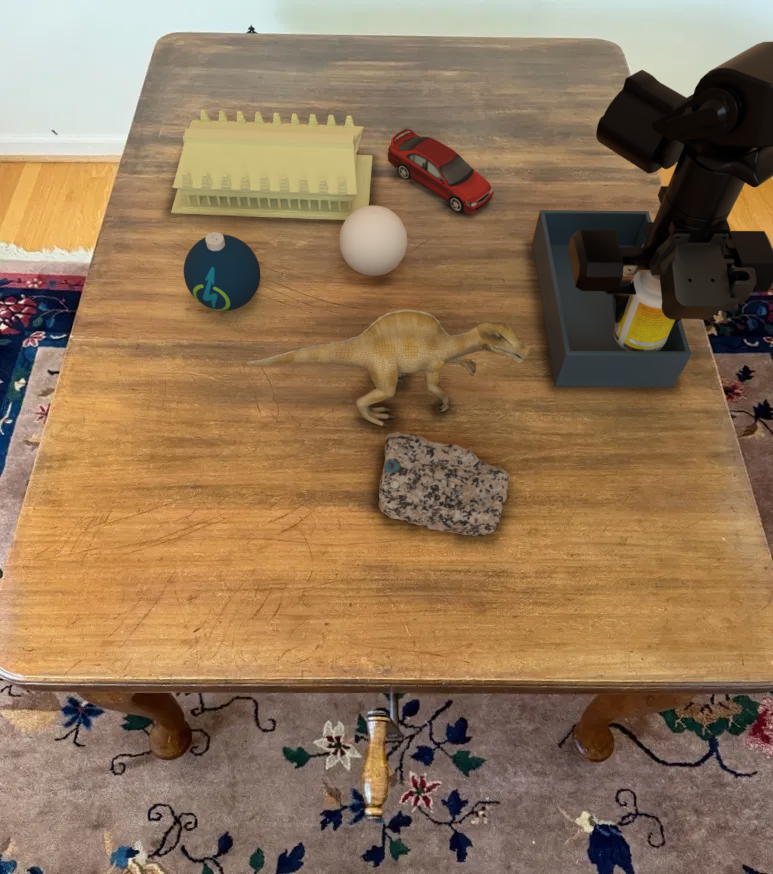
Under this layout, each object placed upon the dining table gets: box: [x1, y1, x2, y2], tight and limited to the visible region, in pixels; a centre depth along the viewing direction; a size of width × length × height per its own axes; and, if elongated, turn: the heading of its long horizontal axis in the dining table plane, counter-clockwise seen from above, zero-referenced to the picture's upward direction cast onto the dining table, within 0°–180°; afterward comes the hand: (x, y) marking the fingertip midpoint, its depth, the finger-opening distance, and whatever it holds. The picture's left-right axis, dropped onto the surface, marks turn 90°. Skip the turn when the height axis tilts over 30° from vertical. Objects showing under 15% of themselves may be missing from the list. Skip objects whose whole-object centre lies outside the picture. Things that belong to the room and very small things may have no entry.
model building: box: [170, 109, 373, 221], centre depth 95 cm, size 25×14×7 cm, turn 88°
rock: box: [378, 431, 510, 537], centre depth 71 cm, size 13×9×4 cm
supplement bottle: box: [613, 272, 675, 351], centre depth 76 cm, size 6×6×10 cm
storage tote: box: [531, 209, 692, 388], centre depth 85 cm, size 22×13×6 cm, turn 1°
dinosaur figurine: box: [246, 308, 530, 428], centre depth 74 cm, size 8×26×13 cm, turn 97°
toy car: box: [386, 128, 495, 215], centre depth 96 cm, size 6×15×5 cm, turn 44°
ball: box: [338, 205, 408, 277], centre depth 87 cm, size 8×8×8 cm
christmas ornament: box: [183, 231, 261, 312], centre depth 83 cm, size 8×8×10 cm
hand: (644, 319), depth 78 cm, fingers closed on supplement bottle, 6 cm apart
